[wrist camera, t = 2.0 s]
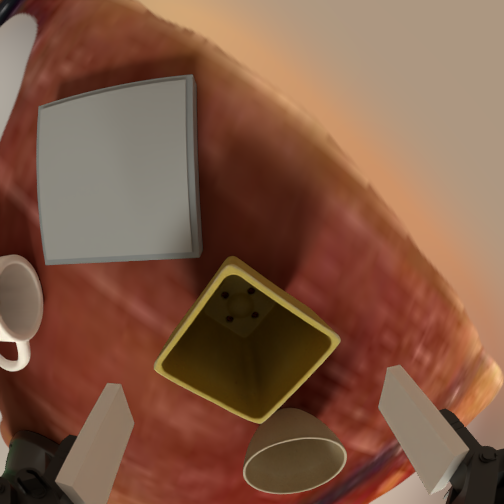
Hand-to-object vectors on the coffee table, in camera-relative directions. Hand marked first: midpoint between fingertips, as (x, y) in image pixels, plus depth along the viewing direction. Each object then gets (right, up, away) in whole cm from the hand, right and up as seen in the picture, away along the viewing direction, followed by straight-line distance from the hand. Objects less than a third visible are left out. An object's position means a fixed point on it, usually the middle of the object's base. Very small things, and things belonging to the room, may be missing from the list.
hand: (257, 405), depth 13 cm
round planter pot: (+3, -12, +17) cm, 21 cm away
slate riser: (-12, +14, +10) cm, 21 cm away
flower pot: (-1, +3, +13) cm, 14 cm away
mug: (-26, +1, +12) cm, 29 cm away
